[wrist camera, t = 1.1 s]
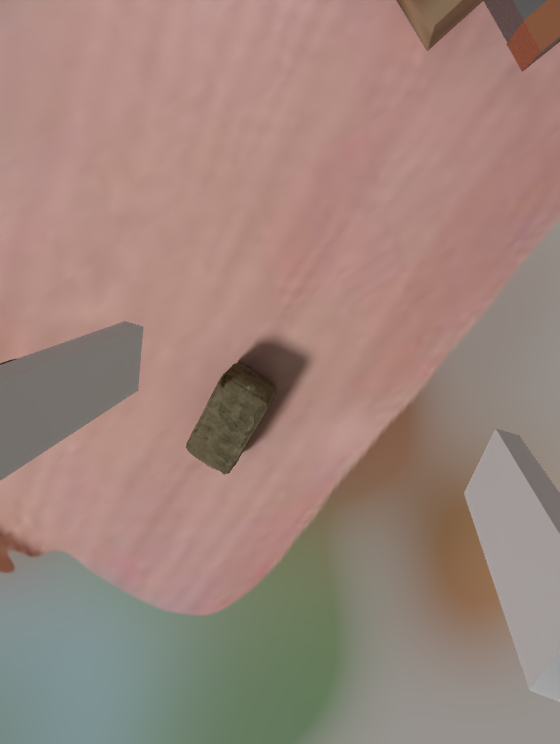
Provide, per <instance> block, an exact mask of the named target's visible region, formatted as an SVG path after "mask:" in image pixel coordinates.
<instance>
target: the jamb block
mask: <svg viewBox="0 0 560 744" xmlns="http://www.w3.org/2000/svg"><path fill="white" fill-rule="evenodd" d="M482 1H483V0H397V2H398V3H399V5H400V7H401V8H402V10H403V12H404V13H405V15H406V17H407V18H408V20H409V22H410V23H411V25H412V27H413V28H414V30H415V32H416V33H417V35H418V37H419V38H420V40H421V42H422V43H423V45H424V47H425V48H426V50H427V51H428V50H429V49H430V48H431V47H432V46H433V45H435V44H436V43H437V42H438V41H439V40H440V39H441V38H442V37H443V36H444V35H446V34H447V33H448V32H449V31H450V30H451V29H452V28H453V27H454V26H456V25H457V24H458V23H459V22H460V21H461V20H462V19H463V18H464V17H465V16H467V15H468V14H469V13H470V12H471V11H472V10H473V9H474V8H475V7H477V6H478V5H479V4H480V3H481V2H482Z"/></svg>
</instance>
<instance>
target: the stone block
mask: <svg viewBox="0 0 560 744" xmlns="http://www.w3.org/2000/svg"><path fill="white" fill-rule="evenodd" d="M275 393H276V387H275V386H274V385H273V384H271V383H270V382H269V381H267V380H266V379H264V378H263V377H261V376H260V375H259V374H257V373H256V372H255V371H253V370H251V369H250V368H248V367H247V366H245V365H243V364H240V363H236V364H233V365H232V367H231V368H230V369H229V370H228V371H227V372H225V373H224V374H223V376H222V377H221V378H220V380H219V382H218V384H217V386H216V387H215V389H214V391H213V393H212V395H211V397H210V399H209V401H208V403H207V405H206V407H205V409H204V412H203V414H202V415H201V417H200V419H199V422H198V423H197V425H196V426H195V428H194V430H193V431H192V433H191V436H190V438H189V440H188V442H187V444H186V448H187V450H188V451H189V452H190V453H191V454H192V455H194V456H195V457H196V458H198V459H199V460H201V461H202V462H204V463H205V464H206V465H207V466H209V467H211V468H213V469H215V470H219V471H221V472H222V473H223V474H228V473H230V471H231V470H232V468H233V467H234V466H235V465H236V463H237V461H238V460H239V458H240V456H241V454H242V452H243V450H244V449H245V447H246V445H247V443H248V442H249V440H250V438H251V436H252V435H253V433H254V432H255V430H256V429H257V427H258V426H259V424H260V423H261V421H262V419H263V417H264V415H265V413H266V411H267V409H268V408H269V405H270V404H271V402H272V400H273V398H274V396H275Z"/></svg>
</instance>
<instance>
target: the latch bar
mask: <svg viewBox="0 0 560 744" xmlns="http://www.w3.org/2000/svg"><path fill="white" fill-rule="evenodd" d="M483 1H484V2H485V4H486V6H487V8H488V9H489V11H490V13H491V15H492V16H493V18H494V20H495V22H496V23H497V25H498V27H499V29H500V30H501V32H502V34H503V36H504V38H505V39H506V41H507V46H508V47H509V49H510V51H511V53H512V54H513V56H514V58H515V60H516V61H517V63H518V65H519V67H520V68H521V70H522V72H523V71H524V70H525V69H526V68H528V67H529V66H530V65H531V64H532V63H534V62H535V61H536V60H537V59H539V58H540V57H541V56H542V55H544V54H545V53H546V52H547V51H549V50H550V49H551V48H552V47H554V46H555V45H556V44H557V43H559V42H560V0H483Z"/></svg>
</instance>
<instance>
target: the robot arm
mask: <svg viewBox="0 0 560 744" xmlns="http://www.w3.org/2000/svg"><path fill="white" fill-rule="evenodd" d="M142 335H143V326H140V325H136V324H133V323H129V322H126V321H125V322H122V323H119V324H116V325H113V326H110V327H108V328H105V329H102V330H99V331H96V332H93V333H90V334H87V335H85V336H82V337H79V338H76V339H73V340H70V341H67V342H64V343H62V344H59V345H56V346H53V347H50V348H47V349H44V350H42V351H39V352H36V353H33V354H30V355H27V356H24V357H21V358H19V359H13V360H9V361H6V362H3V363H0V480H2V479H3V478H5V477H6V476H8V475H9V474H11V473H13V472H14V471H16V470H17V469H19V468H20V467H22V466H23V465H25V464H26V463H28V462H29V461H31V460H32V459H34V458H35V457H37V456H38V455H40V454H42V453H43V452H45V451H46V450H48V449H49V448H51V447H52V446H54V445H55V444H57V443H58V442H60V441H61V440H63V439H64V438H66V437H67V436H69V435H71V434H72V433H74V432H75V431H77V430H78V429H80V428H81V427H83V426H84V425H86V424H87V423H89V422H90V421H92V420H93V419H95V418H96V417H98V416H100V415H101V414H103V413H104V412H106V411H107V410H109V409H110V408H112V407H113V406H115V405H116V404H118V403H119V402H121V401H122V400H124V399H126V398H127V397H129V396H130V395H132V394H133V393H135V392H136V391H138V384H139V372H140V359H141V347H142ZM464 495H465V498H466V500H467V503H468V507H469V510H470V513H471V516H472V519H473V521H474V525H475V528H476V531H477V534H478V537H479V539H480V543H481V546H482V549H483V552H484V555H485V558H486V561H487V564H488V567H489V570H490V573H491V576H492V579H493V582H494V585H495V588H496V591H497V594H498V597H499V600H500V603H501V606H502V609H503V612H504V615H505V618H506V621H507V624H508V627H509V630H510V633H511V636H512V639H513V642H514V645H515V648H516V651H517V654H518V657H519V660H520V663H521V666H522V669H523V672H524V675H525V678H526V681H527V684H528V687H529V690H530V691H533V692H535V693H538V694H540V695H543V696H545V697H548V698H551V699H554V700H556V701H559V702H560V493H559V491H558V490H557V489H556V487H555V486H554V484H553V483H552V481H551V480H550V479H549V477H548V476H547V474H546V473H545V471H544V470H543V469H542V467H541V466H540V464H539V463H538V461H537V460H536V459H535V457H534V456H533V454H532V453H531V451H530V450H529V449H528V447H527V446H526V444H525V443H524V442H523V440H522V439H521V437H520V436H519V435H516V434H512V433H509V432H505V431H502V430H498V429H495V431H494V433H493V435H492V438H491V439H490V441H489V443H488V445H487V448H486V450H485V452H484V454H483V456H482V458H481V460H480V462H479V464H478V466H477V468H476V470H475V472H474V474H473V476H472V478H471V480H470V482H469V484H468V486H467V488H466V490H465V492H464Z"/></svg>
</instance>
